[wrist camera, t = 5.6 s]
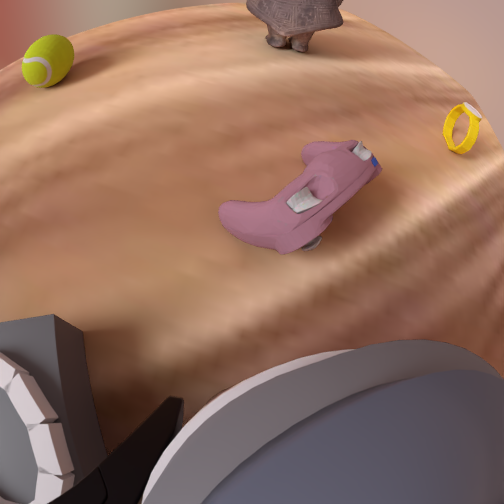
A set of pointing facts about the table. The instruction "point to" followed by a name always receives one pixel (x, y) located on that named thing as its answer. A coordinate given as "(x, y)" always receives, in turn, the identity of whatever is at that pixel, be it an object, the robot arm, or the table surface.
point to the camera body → (45, 411)
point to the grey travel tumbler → (346, 433)
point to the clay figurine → (295, 19)
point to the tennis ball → (48, 61)
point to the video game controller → (304, 198)
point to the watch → (472, 131)
